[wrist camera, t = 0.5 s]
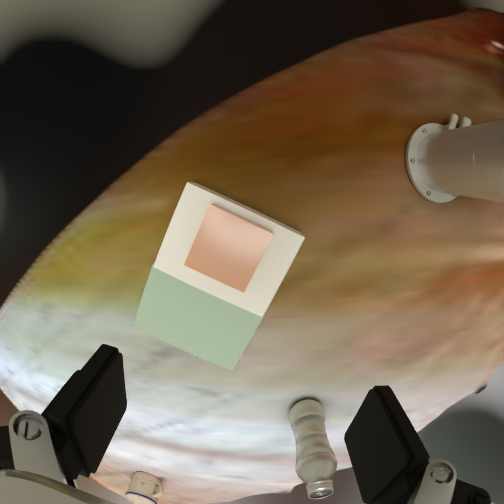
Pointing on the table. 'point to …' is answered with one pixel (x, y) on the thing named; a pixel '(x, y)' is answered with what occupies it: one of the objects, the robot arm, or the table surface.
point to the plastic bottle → (313, 448)
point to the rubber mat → (194, 320)
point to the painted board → (173, 262)
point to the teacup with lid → (144, 489)
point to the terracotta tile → (228, 247)
